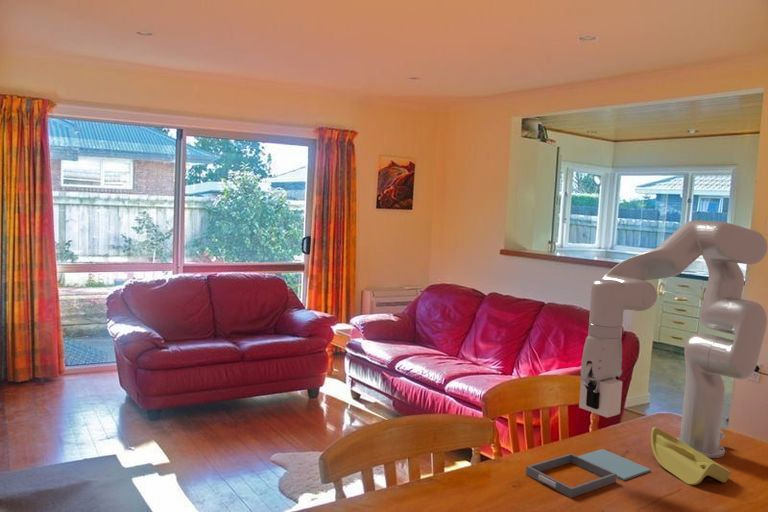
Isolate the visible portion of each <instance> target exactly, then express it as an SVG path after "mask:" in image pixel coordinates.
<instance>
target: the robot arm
mask: <svg viewBox="0 0 768 512" xmlns="http://www.w3.org/2000/svg"><path fill="white" fill-rule="evenodd" d="M767 252H768V242H767V239H766V238H765V236H764V235H763V234H762V233H760V231H757V230H754V229H750V228H747V227H743V226H740V225H736V224H734V223H730V222H724V221H713V220H712V221H711V220H690V221H687V222H685V223H684V224H682V225H681V226H680V227H678V228H677V229H676V231H674V232H673V233H672V234H671V235H669V237H667V238H666V239H664V241H662V242H661V243H660V244H659V245H658V246H657V247H655V248H653V249H651V250H648V251H645V252H642V253H639V254H637V255H634V256H632V257H628V258H627V259H625V260H623V261H621V262H618V264H616V265H615V266H614V267H612V268H611V269H610V270H609V271H607V272H606V274H604V276H603V277H602V278H600V279H595V280H594V281H593V282H592V284H591V287H590V288H591V290H590V303H589V305H590V306H589V315H588V316H589V319H588V330H587V331H588V332H587V334H588V335H587V336H586V338H585V342H584V345H583V351H582V357H581V366H580V378H579V379H580V383H581V382H582V383H583V384H584V386H585V387H586V390H587V399H586V405H587V406H588V407H591V408H594V409H598V408H599V397H600V393H599V392H598V390H599V385H600V381H601V380H605V379H609V378H613V379H617V380H620V379H619V378H620V377H621V376H622V374H623V369H622V366H623V365H622V364H623V342H622V334H623V321H624V311H635V312H644V311H646V310H649V309H650V308H652V307H653V306H654V305H655V303H656V301H657V300H658V299H657V298H658V292H657V289H656V288H655V286H654V285H653V284H652V283H650V282H649V281H651V280H653V281H654V280H660V279H667V278H672V277H675V276H679V275H681V274H682V273H683V272H684V271H685V270H686V269H687V268H689V267H690V265H692V264H693V263H694V262H695V261H696V260H697V259H699V258H700V257H701V256H702V258H703V259H704V260H703V261H704V262H705V265H706V267H707V270H708V271H707V272H708V279H707V285H706V288H705V292H704V296H703V301H702V303H701V309H700V312H699V320H700V323H701V325H702V326H704V327H706V328H707V329H710V330H713V331H716V332H720V333H724V334H725V333H726V334H729V335H734V338H733V339H731V338H726V337H723V336H719V335H714V334H711V333H710V334H709V333H696V334H693V335H691V336H689V338H688V339H687V340H686V342H685V345H684V363H685V382H684V383H685V384H684V393H683V403H682V411H681V412H682V413H681V423H680V433H679V436H677V437H675V438H676V439H678V440H680V441H682V442H683V443H685V444H687V445H688V446H690V447H691V448H693V449H695V450H696V451H698V452H700V453H701V454H703V455H705V456H706V457H708V458H709V459H717V458H719V459H720V458H722V457H724V456H725V454H726V450H725V448H724V447H723V446H722V445H720V440H722V439H724V438H725V437H726V433H725V432H724V431H722V430H721V428H722V420H723V418H722V417H723V409H724V400H725V393H726V392H725V390H726V389H725V384H724V380H723V377H722V376H725V377H729V378H731V379H735V380H747V379H748V378H750V377H751V376H752V375H753V373H754V372H755V370H756V367H757V365H758V362H759V359H760V358H759V357H760V354H761V351H762V350H761V349H762V346H763V342H764V338H765V335H766V329H767V324H768V317H767V312H766V310H765V308H764V307H763V306H762V305H761V304H760V303H758V302H755V301H753V300H748V299H744V298H742V295H743V290H744V286H745V277H744V273H743V271H742V268H741V267H740V266H739V264H742V265H743V264H744V265H755V264H758V263H760V262H761V261H762V260H763V259H764V258H765V257H766V255H767ZM581 375H582V376H581ZM593 376H594V378H592V377H593ZM592 381H595V385H594V384H593V383H592Z"/></svg>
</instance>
